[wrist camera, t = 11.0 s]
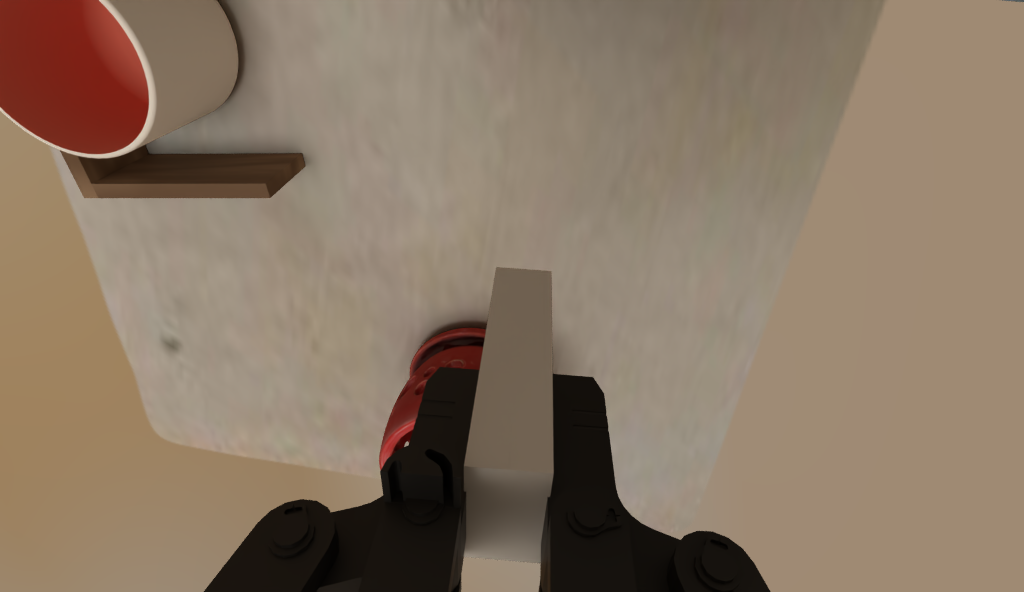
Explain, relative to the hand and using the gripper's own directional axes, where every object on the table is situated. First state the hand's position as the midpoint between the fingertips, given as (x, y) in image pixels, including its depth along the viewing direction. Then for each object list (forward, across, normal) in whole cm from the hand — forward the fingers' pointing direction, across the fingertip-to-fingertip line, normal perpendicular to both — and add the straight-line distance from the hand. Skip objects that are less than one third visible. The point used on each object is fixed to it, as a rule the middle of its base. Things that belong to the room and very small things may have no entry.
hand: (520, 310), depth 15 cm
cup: (+26, -25, +2) cm, 36 cm away
